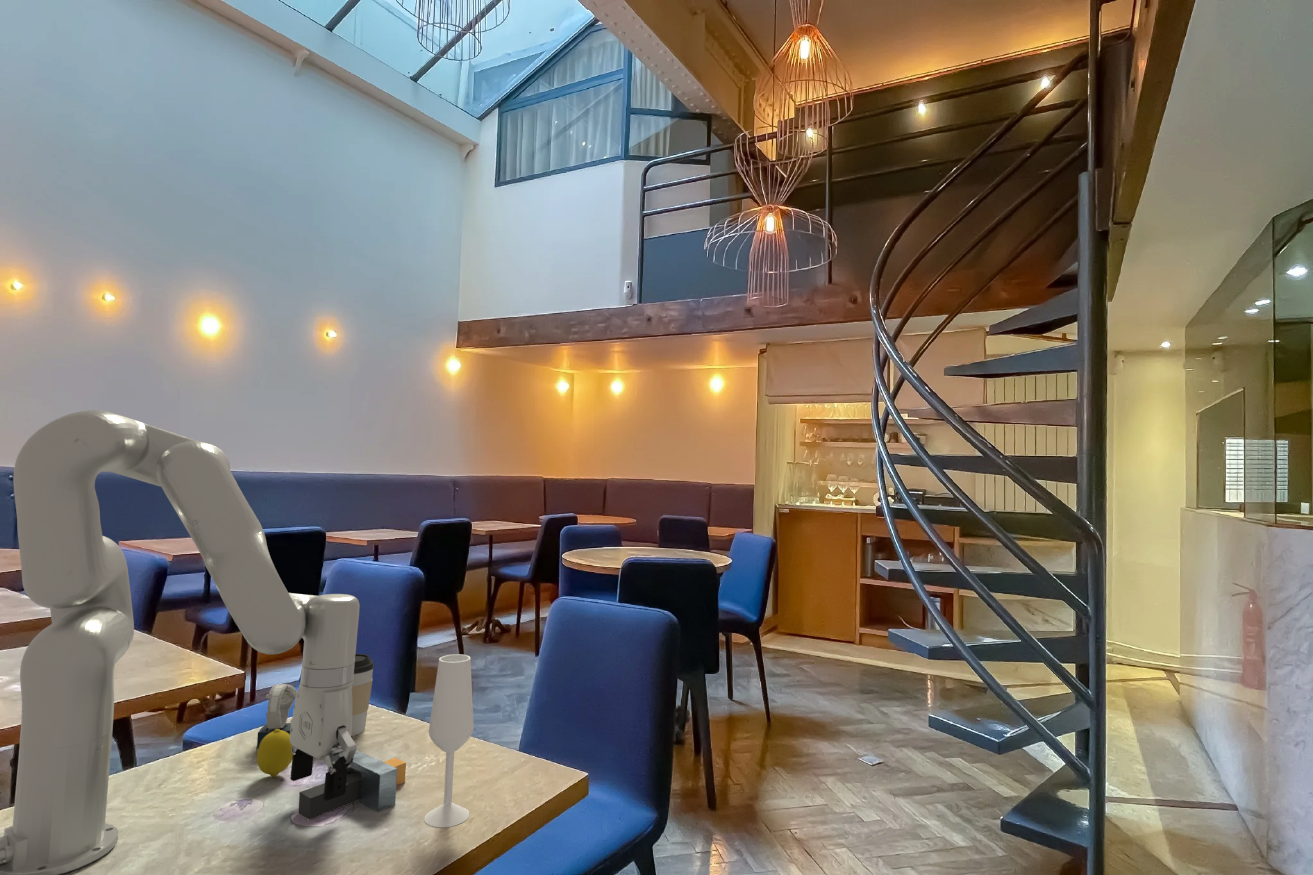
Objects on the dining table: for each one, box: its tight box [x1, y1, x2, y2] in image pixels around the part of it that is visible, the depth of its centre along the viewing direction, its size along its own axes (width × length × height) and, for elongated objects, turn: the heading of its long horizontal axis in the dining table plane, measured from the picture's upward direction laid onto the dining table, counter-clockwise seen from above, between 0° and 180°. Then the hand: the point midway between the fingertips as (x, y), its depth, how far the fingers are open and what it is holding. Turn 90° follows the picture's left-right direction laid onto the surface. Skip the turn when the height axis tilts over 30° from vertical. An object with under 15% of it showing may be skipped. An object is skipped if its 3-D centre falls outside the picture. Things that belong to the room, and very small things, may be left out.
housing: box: [327, 748, 397, 813], centre depth 110 cm, size 3×15×6 cm, turn 55°
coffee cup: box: [351, 653, 375, 737], centre depth 137 cm, size 9×9×15 cm
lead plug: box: [297, 757, 407, 821], centre depth 109 cm, size 16×3×3 cm, turn 145°
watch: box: [256, 683, 298, 750], centre depth 129 cm, size 6×8×11 cm
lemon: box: [256, 729, 294, 778], centre depth 115 cm, size 6×6×8 cm
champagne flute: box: [424, 653, 475, 828], centre depth 104 cm, size 7×7×24 cm
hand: (317, 787), depth 104 cm, fingers open, 9 cm apart
